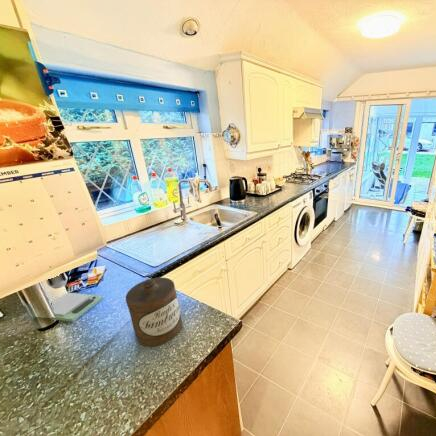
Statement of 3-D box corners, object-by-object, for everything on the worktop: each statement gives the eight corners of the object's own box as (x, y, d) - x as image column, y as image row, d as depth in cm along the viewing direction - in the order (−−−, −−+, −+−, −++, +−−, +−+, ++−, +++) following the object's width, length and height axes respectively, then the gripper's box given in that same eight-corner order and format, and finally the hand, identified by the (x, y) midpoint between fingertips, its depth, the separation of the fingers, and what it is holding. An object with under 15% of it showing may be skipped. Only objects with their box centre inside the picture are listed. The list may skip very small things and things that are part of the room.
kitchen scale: (37, 320, 90) (33, 313, 88) (71, 297, 102) (68, 291, 100) (74, 325, 88) (71, 317, 87) (104, 301, 100) (102, 294, 99)
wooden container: (151, 354, 77) (136, 301, 69) (128, 334, 85) (113, 284, 77) (190, 325, 89) (181, 276, 81) (168, 309, 96) (158, 263, 88)
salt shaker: (69, 279, 95) (58, 251, 90) (69, 286, 91) (57, 257, 86) (50, 284, 92) (37, 255, 87) (48, 292, 88) (35, 262, 83)
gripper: (64, 227, 100) (85, 275, 96) (7, 240, 88) (29, 295, 85) (62, 219, 95) (84, 269, 91) (1, 231, 83) (24, 289, 79)
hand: (58, 281), depth 88 cm, fingers closed on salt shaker, 3 cm apart
